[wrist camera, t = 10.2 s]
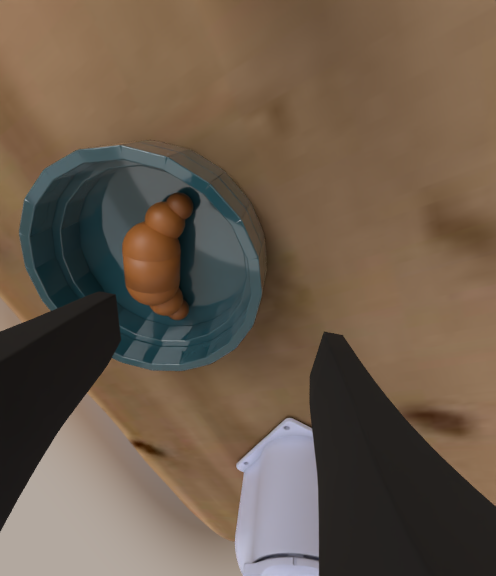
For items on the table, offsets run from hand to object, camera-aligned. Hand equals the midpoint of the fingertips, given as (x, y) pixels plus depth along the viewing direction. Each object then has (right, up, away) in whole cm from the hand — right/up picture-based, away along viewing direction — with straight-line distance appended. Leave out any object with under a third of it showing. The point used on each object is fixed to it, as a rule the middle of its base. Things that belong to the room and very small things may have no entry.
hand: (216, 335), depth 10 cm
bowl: (-4, +4, +9) cm, 11 cm away
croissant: (-4, +4, +9) cm, 11 cm away
